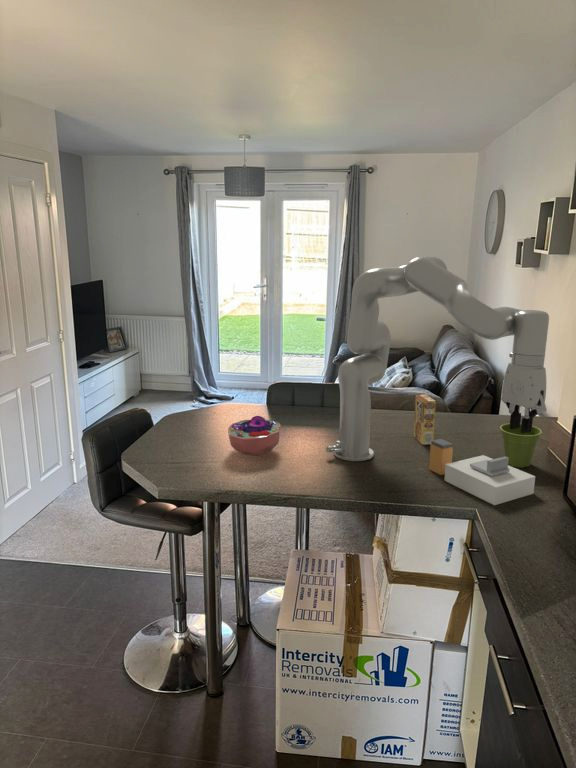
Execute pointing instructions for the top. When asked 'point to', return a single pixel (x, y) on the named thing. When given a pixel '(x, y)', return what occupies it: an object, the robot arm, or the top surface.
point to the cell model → (254, 435)
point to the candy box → (424, 419)
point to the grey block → (492, 466)
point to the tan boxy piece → (440, 455)
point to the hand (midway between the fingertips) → (520, 429)
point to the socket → (489, 481)
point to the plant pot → (519, 445)
